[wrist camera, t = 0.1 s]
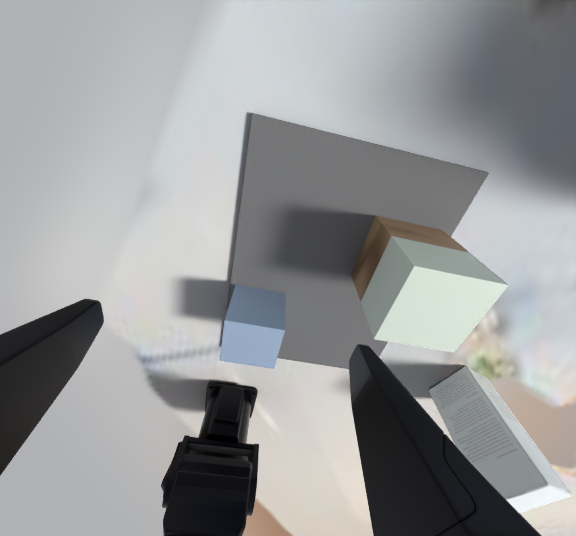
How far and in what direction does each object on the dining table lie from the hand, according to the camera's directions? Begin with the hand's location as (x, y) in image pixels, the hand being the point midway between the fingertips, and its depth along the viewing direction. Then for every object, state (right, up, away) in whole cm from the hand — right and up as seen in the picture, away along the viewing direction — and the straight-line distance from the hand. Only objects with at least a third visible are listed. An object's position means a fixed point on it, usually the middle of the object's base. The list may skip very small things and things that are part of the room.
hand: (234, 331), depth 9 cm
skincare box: (+24, -12, +25) cm, 36 cm away
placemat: (+6, +1, +16) cm, 17 cm away
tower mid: (+11, +1, +11) cm, 16 cm away
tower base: (+11, +4, +14) cm, 19 cm away
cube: (-1, -2, +18) cm, 18 cm away
